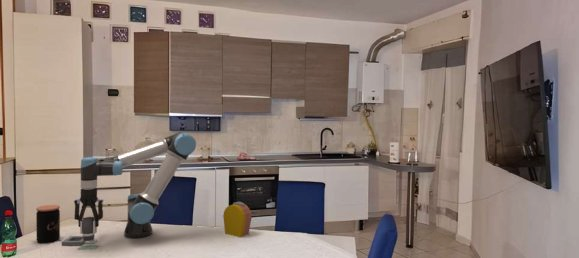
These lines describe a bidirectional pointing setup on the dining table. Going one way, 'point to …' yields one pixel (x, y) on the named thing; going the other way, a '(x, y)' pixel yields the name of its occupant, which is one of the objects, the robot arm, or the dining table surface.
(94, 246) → the mat
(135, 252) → the dining table surface
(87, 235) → the plug
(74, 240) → the socket
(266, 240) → the dining table surface
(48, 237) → the coffee jar
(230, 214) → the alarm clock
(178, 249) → the dining table surface
